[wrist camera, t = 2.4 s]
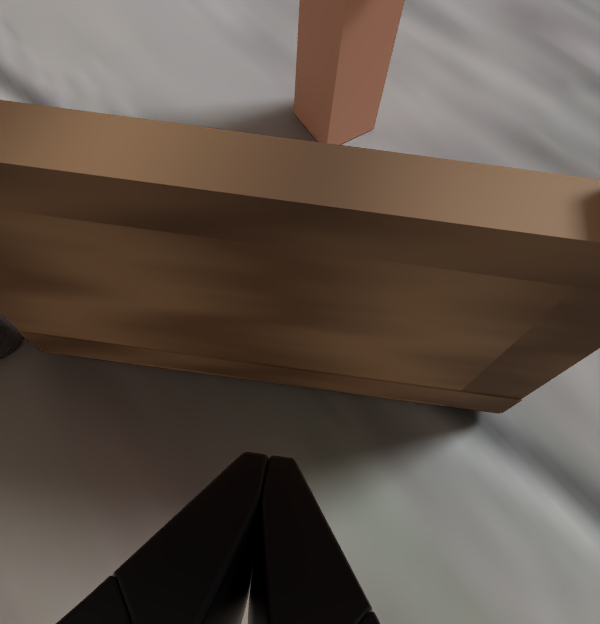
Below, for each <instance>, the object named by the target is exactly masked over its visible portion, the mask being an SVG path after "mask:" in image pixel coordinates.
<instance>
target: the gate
mask: <svg viewBox="0 0 600 624" xmlns="http://www.w3.org/2000/svg"><path fill="white" fill-rule="evenodd" d="M0 313H1V314H2V315H3V316H4V317H5V318H6V319H8V320H9V321H10V322H11V323H12V324H13V325H14V326H15V327H16V328H17V329H18V330H19V331H20V332H19V333H20V334H21V335H22V336H24V337H25V338H26V339H27V340H28V341H29V342H30V343H31V344H32V345H33V346H34V347H36V348H37V349H38V350H41V351H42V352H49V353H57V354H64V355H71V356H79V357H86V358H93V359H101V360H108V361H116V362H123V363H130V364H138V365H145V366H152V367H160V368H167V369H175V370H182V371H189V372H197V373H204V374H211V375H219V376H226V377H234V378H241V379H248V380H256V381H263V382H270V383H278V384H285V385H293V386H300V387H307V388H315V389H322V390H329V391H337V392H344V393H352V394H359V395H366V396H374V397H381V398H388V399H396V400H403V401H411V402H418V403H425V404H433V405H440V406H447V407H455V408H462V409H470V410H477V411H484V412H492V413H501V412H502V413H503V412H505V411H506V410H508V409H509V408H511V407H512V406H514V405H515V404H517V403H519V402H520V401H522V398H524V397H525V396H527V395H528V394H530V393H531V392H533V391H534V390H536V389H537V388H539V387H541V386H542V385H544V384H545V383H547V382H548V381H550V380H551V379H553V378H554V377H556V376H557V375H559V374H560V373H562V372H564V371H565V370H567V369H568V368H570V367H571V366H573V365H574V364H576V363H577V362H579V361H580V360H582V359H583V358H585V357H587V356H588V355H590V354H591V353H593V352H594V351H596V350H597V349H599V348H600V179H592V178H585V177H577V176H569V175H562V174H554V173H547V172H539V171H532V170H524V169H517V168H509V167H502V166H494V165H487V164H479V163H472V162H464V161H456V160H449V159H441V158H434V157H426V156H419V155H411V154H404V153H396V152H389V151H381V150H374V149H366V148H359V147H351V146H344V145H336V144H328V143H321V142H313V141H306V140H298V139H291V138H283V137H276V136H268V135H261V134H253V133H246V132H238V131H231V130H223V129H215V128H208V127H200V126H193V125H185V124H178V123H170V122H163V121H155V120H148V119H140V118H133V117H125V116H118V115H110V114H102V113H95V112H87V111H80V110H72V109H65V108H57V107H50V106H42V105H35V104H27V103H20V102H12V101H5V100H0Z"/></svg>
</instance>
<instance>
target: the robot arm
mask: <svg viewBox="0 0 600 624" xmlns="http://www.w3.org/2000/svg"><path fill="white" fill-rule="evenodd" d="M251 578H252V579H251ZM250 584H251V587H250ZM249 589H250V595H249V609H248V624H380V622H379V620H378V618H377V616H376V614H375V613H374V612H372V607H371V605H370V603H369V601H368V599H367V598H366V596H365V594H364V592H363V590H362V588H361V586H360V584H359V582H358V580H357V578H356V576H355V574H354V573H353V571H352V569H351V567H350V565H349V563H348V561H347V559H346V557H345V555H344V553H343V551H342V550H341V548H340V546H339V544H338V542H337V540H336V538H335V536H334V534H333V532H332V530H331V528H330V527H329V525H328V523H327V521H326V519H325V517H324V515H323V513H322V511H321V509H320V507H319V505H318V504H317V502H316V500H315V498H314V496H313V494H312V492H311V490H310V488H309V486H308V484H307V482H306V481H305V479H304V477H303V475H302V473H301V471H300V469H299V467H298V465H297V463H296V461H295V460H294V459H293V458H288V457H280V456H271V457H270V458H269V460H268V456H267V455H265V454H258V453H251V452H245V453H243V454H241V455H240V456H239V457H238V458H237V459H236V460H235V461H234V462H233V463H232V464H231V465H229V466H228V467H227V468H226V469H225V470H224V471H223V472H222V473H221V474H220V475H219V476H218V477H217V478H215V479H214V480H213V481H212V482H211V483H210V484H209V485H208V486H207V487H206V488H205V489H204V490H202V491H201V492H200V493H199V494H198V495H197V496H196V497H195V498H194V499H193V500H192V501H191V502H189V503H188V504H187V505H186V506H185V507H184V508H183V509H182V510H181V511H180V512H179V513H178V514H176V515H175V516H174V517H173V518H172V519H171V520H170V521H169V522H168V523H167V524H166V525H165V526H164V527H162V528H161V529H160V530H159V531H158V532H157V533H156V534H155V535H154V536H153V537H152V538H151V539H149V540H148V541H147V542H146V543H145V544H144V545H143V546H142V547H141V548H140V549H139V550H138V551H136V552H135V553H134V554H133V555H132V556H131V557H130V558H129V559H128V560H127V561H126V562H125V563H123V564H122V565H121V566H120V567H119V568H118V569H117V570H116V571H115V572H114V574H113V576H109V577H108V578H107V579H106V580H105V581H104V582H103V583H101V584H100V585H99V586H98V587H97V588H96V589H95V590H94V591H93V592H92V593H91V594H89V595H88V596H87V597H86V598H85V599H84V600H83V601H81V602H80V603H79V604H78V605H77V606H76V607H75V608H73V609H72V610H71V611H70V612H69V613H68V614H67V615H65V616H64V617H63V618H62V619H61V620H60V621H59V622H57V623H56V624H241V622H242V618H243V615H244V611H245V607H246V603H247V599H248V594H249Z"/></svg>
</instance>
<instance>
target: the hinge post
mask: <svg viewBox="0 0 600 624" xmlns="http://www.w3.org/2000/svg"><path fill="white" fill-rule="evenodd" d="M19 332H20V331H19V330H18V329H17V328H16V327H15V326H14V325H13V324H12V323H11V322H10V321H9V320H8V319H6V318H5V317H4V316H3V315H2V314H1V313H0V358H2V357H5V356H7V355H9V354H10V353H12V352H13V351H14V350H15V349H16V348H17V347H18V346H19V345H20V344H21V342H22V340H23V338H24V336H22V335H21V334H20V333H19Z"/></svg>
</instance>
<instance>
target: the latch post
mask: <svg viewBox="0 0 600 624" xmlns="http://www.w3.org/2000/svg"><path fill="white" fill-rule="evenodd" d="M404 1H405V0H300V5H299V24H298V42H297V61H296V80H295V98H294V114H295V115H296V116H297V117H298V118H299V120H300V121H301V122H302V123H303V124H304V126H305V127H306V128H307V129H308V130H309V132H310V133H311V134H312V135H313V136H314V138H315V139H316V140H317V141H318V142H321V143H328V144H336V145H340V144H342V143H345V142H347V141H349V140H351V139H353V138H355V137H357V136H359V135H361V134H364V133H366V132H368V131H370V130H372V129H374V126H375V122H376V117H377V113H378V109H379V105H380V101H381V97H382V92H383V88H384V84H385V80H386V76H387V72H388V67H389V63H390V59H391V55H392V51H393V47H394V42H395V38H396V34H397V30H398V26H399V22H400V17H401V13H402V9H403V5H404Z"/></svg>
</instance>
